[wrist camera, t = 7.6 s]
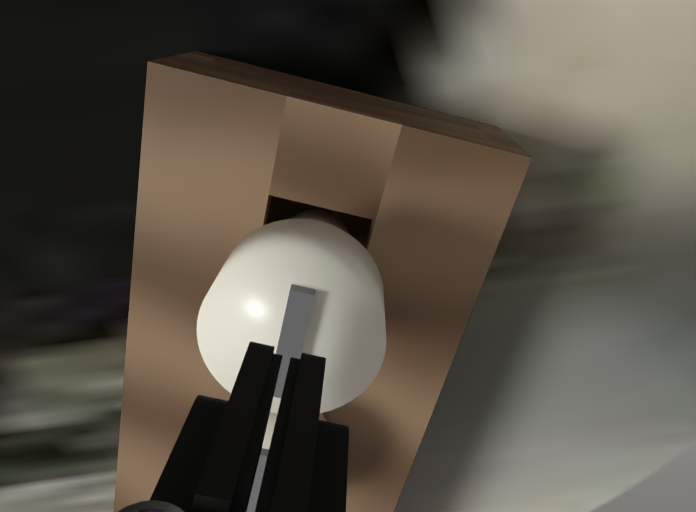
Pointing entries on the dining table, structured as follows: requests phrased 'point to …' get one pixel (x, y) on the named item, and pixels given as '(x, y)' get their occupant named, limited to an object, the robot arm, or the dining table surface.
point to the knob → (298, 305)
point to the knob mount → (279, 204)
